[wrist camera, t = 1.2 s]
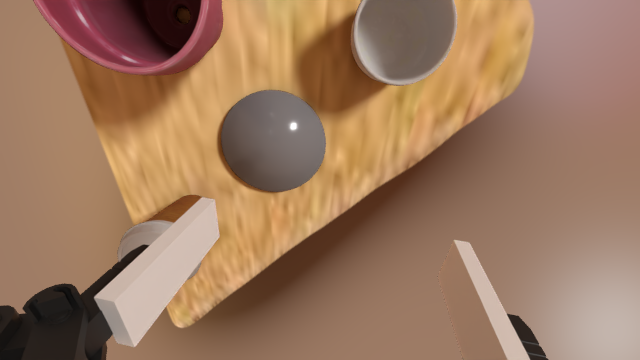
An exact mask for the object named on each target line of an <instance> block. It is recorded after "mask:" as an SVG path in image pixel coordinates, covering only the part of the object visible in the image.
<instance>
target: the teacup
mask: <svg viewBox="0 0 640 360" xmlns="http://www.w3.org/2000/svg"><path fill="white" fill-rule="evenodd" d="M456 29H457V12H456V6H455V3H454V0H362V1H361V3H360V5H359V7H358V9H357V12H356V16H355V18H354V21H353V25H352V30H351V49H352V53H353V56H354V59H355V61H356V63H357V65H358V66H359V68H360V69H361V70H362V71H363V72H364V73H365V74H366V75H367V76H369V77H370V78H372V79H374V80H376V81H379V82H383V83H386V84H389V85H396V86H402V85H408V84H413V83H415V82H418V81H420V80H422V79H424V78H426V77H427V76H429V75H430V74H432V73H433V72H434V71H435V70H436V69H437V68H438V67H439V66H440V65H441V63H442V62H443V61H444V60H445V58H446V57H447V55H448V53H449V51H450V50H451V46H452V43H453V41H454V38H455V34H456Z"/></svg>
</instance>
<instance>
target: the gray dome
mask: <svg viewBox="0 0 640 360" xmlns="http://www.w3.org/2000/svg"><path fill="white" fill-rule="evenodd" d="M221 142H222V149H223V153H224V156H225V159H226V161H227V163H228V164H229V166H230V167H231V169H232V170H233V171H234V173H235V174H236V175H237V176H238V177H239V178H240V179H242V180H243V181H244V182H246V183H247V184H249V185H251V186H253V187H255V188H258V189H261V190H265V191H273V192H279V191H287V190H291V189H294V188H297V187H299V186H301V185H302V184H304V183H306V182H307V181H308V180H309V179H310V178H312V176H313V175H314V174H315V173H316V172H317V170H318V169H319V167H320V165H321V163H322V161H323V158H324V154H325V147H326V141H325V133H324V129H323V126H322V123H321V121H320V119H319V117H318V116H317V114H316V113H315V111H314V110H313V109H312V108H311V107H310V106H309V105H308V104H307V103H306V102H305V101H303V100H302V99H301V98H299V97H297V96H295V95H293V94H291V93H288V92H284V91H279V90H264V91H259V92H256V93H253V94H250V95H248V96H246V97H244V98H243V99H241V100H240V101H239V102H237V103H236V104H235V105H234V106H233V108H232V109H231V110H230V112H229V113H228V115H227V117H226V119H225V121H224V124H223V128H222V134H221Z"/></svg>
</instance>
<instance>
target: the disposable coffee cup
mask: <svg viewBox="0 0 640 360" xmlns="http://www.w3.org/2000/svg"><path fill="white" fill-rule="evenodd" d="M201 198H202V197H200V196H197V195H187V196H184V197H182V198H180V199H179V200H177V201H176V202H174V203H173V204H171V205H170V206H168V207H167V208H165V209H164V210H162V211H161V212H159V213H158V214H156V215H155V216H153V217H152V218H150V219H149V220H147V221H146V222H143V223H139V224H137V225H135V226H133V227H132V228H130V229H129V230H128V231H127V232H126V233H125V234H124V236H123V237H122V239H121V243H120V246H119V248H118V253H117V254H118V262H120V261H121V259H122V258H123V257H124V256H126V255H127V254H128V253H129V252H130V251H132V250H134V249H135V248H137V247H139V246H141V245H143V244H145V245H151V244H152V243H153V242H154V241H155V240H156V239H157V238H159V237H160V236H161V235H162V234H163V233H164V232H165V231H166V230H167V229H168V228H169V227H170V226H171V225H173V224H174V223H175V222H176V221H177V220H178V219H179V218H180V217H181V216H182V215H183V214H184V213H186V212H187V211H188V210H189V209H190V208H191V207H192V206H193V205H194V204H195V203H196V202H197V201H199V200H200V199H201ZM200 265H201V261H200V263H199V264H198V265H197V267H196V268H195V269H194V271H193V272H192V273H191V275H190V276H189V277H188V278H187V280H188V279H190V278H191V277H193V276H194V275H195V274H196V273H197V271H198V269H199V268H200ZM187 280H186V281H187ZM186 281H185V282H186Z"/></svg>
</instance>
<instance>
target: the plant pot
mask: <svg viewBox="0 0 640 360" xmlns="http://www.w3.org/2000/svg"><path fill="white" fill-rule="evenodd" d="M33 1H34V3H35V5H36V6H37V8H38V10H39V11H40V13H41V14H42V15H43V17H44V18H45V20H46V21H47V22H48V23H49V25H50V26H51V27H52V28H53V29H54V30H55V32H56V33H57V34H58V35H59V36H60V37H61V38H62V39H63V40H64V41H65V42H67V43H68V44H69V45H70V46H71V47H72V48H74V49H75V50H76V51H78V52H79V53H80V54H82V55H83V56H85V57H86V58H88V59H90V60H91V61H93V62H95V63H97V64H99V65H101V66H103V67H106V68H108V69H111V70H114V71H118V72H121V73H127V74H134V75H169V74H174V73H178V72H181V71H183V70H185V69H188V68H189V67H191V66H193V65H194V64H196V63H197V62H198V61H199V60H200V59H201V58H202V57H203V56H204V55H205V54H206V52H207V51H208V50H209V49H210V48H211V47H212V46H213V45H214V44H215V43H216V42H217V40H218V39H219V37H220V34H221V31H222V27H223V12H222V0H33ZM178 7H185V8H187V9H188V11H189V12H190V15H191V17H190V21H189V22H188V23H186V24H181V23H180V22H179V21H178V20H177V18H176V15H175V12H176V9H177V8H178Z"/></svg>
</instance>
